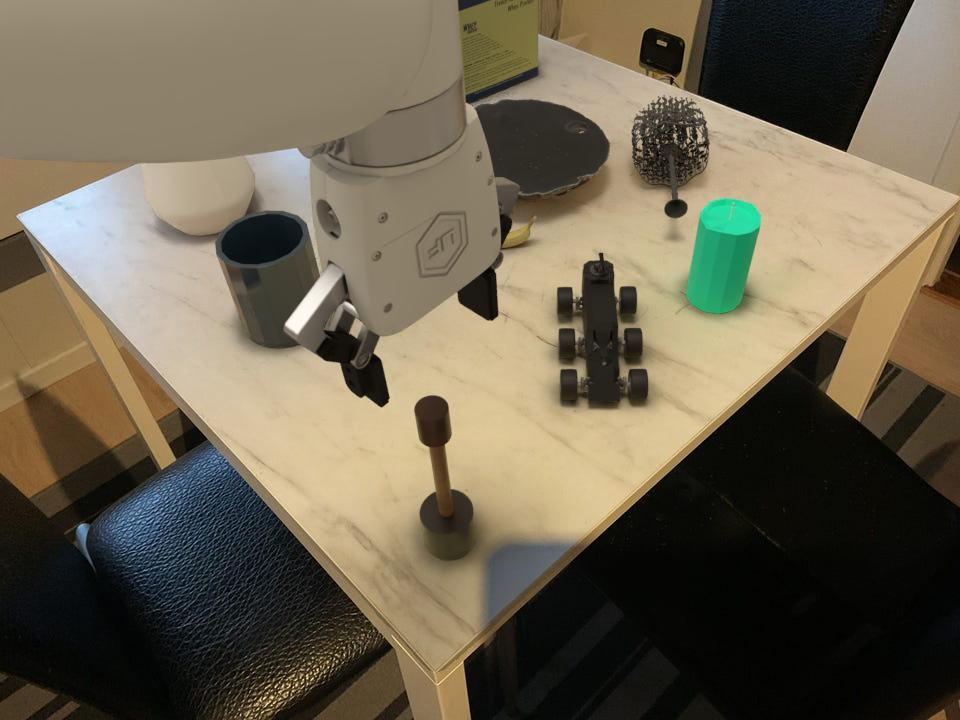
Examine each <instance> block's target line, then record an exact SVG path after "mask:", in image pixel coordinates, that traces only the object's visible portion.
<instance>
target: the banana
mask: <svg viewBox="0 0 960 720" xmlns="http://www.w3.org/2000/svg"><path fill="white" fill-rule="evenodd" d="M535 222H537V215H536V214H535V213H533V215H531V220H530V221H529V222H528V224H527V225H524V226H522V227H521V228H518V229H516V230H511V231H509V233H508V235H507V237H506V239H505V241H504V243H503V245H502V247H501V249H505V248H512V247H515V246H518V245H520V244H523V243H524V242H525V241H527V240H528V239H529V237H530V236H531V228H532V225H534V223H535Z"/></svg>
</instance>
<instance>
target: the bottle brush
mask: <svg viewBox="0 0 960 720" xmlns="http://www.w3.org/2000/svg"><path fill="white" fill-rule="evenodd" d="M413 412H414V417H415V423H416V430H417V436H418V439H419V442H420V443H421V444H422V445H423V446H425V447H427V448H428V451H429V458H430V465H431V469H432V470H431V471H432V477H433V482H434V489H435V491H433V492H431V493H430V494H429V495H427V497H425V499H424V500H423V501H422V503H421V505H420V508H419V520H420V525H421V530H422V536H423V540H424V545H425V548H426V550H427V551H428V552H429V553H430V555H432V556H433V557H435V558H438V559H440V560H443V561H454V560H458V559H461V558H463V557H464V556H466V555H468V554H469V553H470V552H471V550H472V549H473V548H474V546H475V544H476V541H477V530H476V521H475V520H476V519H475V511H474V510H475V509H474V504H473V502H472V500H471V498H470V497H469V496H468V495H466V494H465V493H464V492H462V491H461V490H459V489H453V488H452V487H451V485H452V484H451V479H450V472H449V464H448V457H447V449H446V445H447V444H448V443H449V442H450V440H451V439H452V436H453V430H452V423H451V414H450V406H449V403H448V401H447V400H446V399H445V398H444V397H442V396H440V395H434V394H430V395H426V396H424V397H421V398H420V399H418V400H417V402H416V403H415V405H414V408H413Z"/></svg>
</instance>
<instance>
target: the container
mask: <svg viewBox="0 0 960 720" xmlns="http://www.w3.org/2000/svg"><path fill="white" fill-rule="evenodd" d="M214 246H215V255H216V257H217V260H218V262H219V263H218V264H219V265H220V268H221V270H222V273H223V276H224V278H225V281H226V284H227V287H228V290H229V292H230V295H231V298H232V300H233V303H234V306H235V308H236V311H237V315H238V317H239V320H240V322H241V325H242V328H243V330H244V332H245V333H246V335H247V337H248V338H249V339H250V340H251V341H253V342H254V343H256V344H257V345H260V346H261V347H267V348H272V349H283V348H291V347H294V346H298V345H300V344H299V343H297V342H296V341H295V340H294V339H292V338H291V337H290V336H288V335H287V334H286V333H285V332H284V329H283V328H284V325H285V323H286V321H287V320H288V319H289V317H290V316H291V315H292V313H293V312H294V311H295V309H296V308H297V307H298V305H299V304H300V303H301V301H302V300H303V299H304V297H305V296H306V295H307V293H308V292H309V291H310V289H311V288H312V287H313V285H314V284H315V283H316V281H317V280H318V279H319V277H320V276H321V273H320V270H319V265H318V262H317V257H316V254H315V250H314V246H313V241H312V238H311V235H310V230H309V227H308V223H307V222H306V221H305V220H303V218H301V217H300V215H297V214H294V213H291V212H289V211H285V210H263V211H257V212H253V213H252V212H251V213H249V214H245V215H244V216H243V217H242V218H240V219H237V220H235V221H233V222H232V223H231V224H229V225H228V226H227V227H226V228H225V229H223V230H222V231H221V232H219V234H218V236H217V238H216V240H215V242H214Z"/></svg>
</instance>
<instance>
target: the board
mask: <svg viewBox="0 0 960 720" xmlns="http://www.w3.org/2000/svg"><path fill="white" fill-rule="evenodd" d="M473 108H474V109H475V110H476V112H477V115H478V118H479V120H480V123H481V126H482V129H483V132H484V135H485V138H486V142H487V145H488V148H489V153H490V157H491V162H492V166H493V172H494V177H504V178H506V179H508V180H510V181H512V182H514V183H516V184H518V185H519V186H520V191H519V194H518V198H517V201H518V202H523V203H524V202H534V203H536V202H539V201H542V200H545V199H549V198H551V197H560V196H564V195H566V194H567V193H568V191H572V190H576V189H578V188H580V187H581V186H583V185H584V184H586V183H587V182H589V181H590V180H591V179H592V178H593V177H595V176H596V175H597V174H599V171H600V170H601V169H602V168H603V167H604V166H605V164H606V162H607V161H608V160H609V157H610V152H611V142H610V140H609V139H608V137H607V136H606V134H605V132H604V130H603V129H602V128H601V127H600V125H598V124H597V123H596V122H595V121H593V120H592V119H590V118H589V117H586V116H585V115H584V114H583V113H581V112H579V111H576V110H574V109H572V108H571V107H568V106H566V105H563V104H559V103H554V102H552V101H549V100H548V101H545V100H542V99H541V100H540V99H534V98H528V99H527V98H523V99H508V98H504V99H500V100H497V102H494V103H490V102H489V103H488V102H487V103H480V104H478V105H476V106H473Z"/></svg>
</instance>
